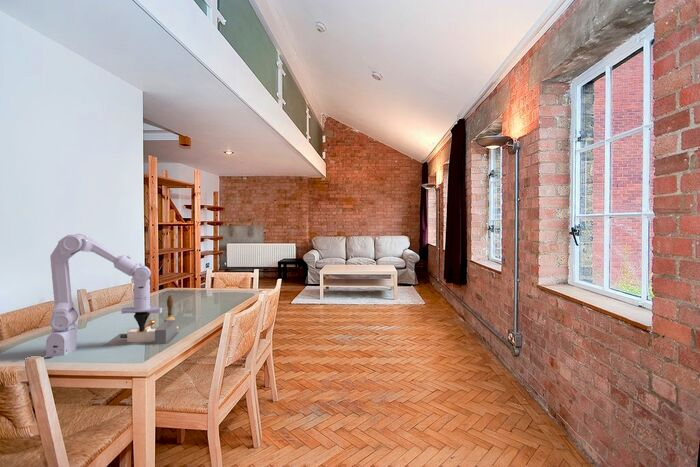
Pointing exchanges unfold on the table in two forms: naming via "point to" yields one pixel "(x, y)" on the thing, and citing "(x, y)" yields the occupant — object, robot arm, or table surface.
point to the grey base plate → (162, 335)
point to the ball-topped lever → (147, 325)
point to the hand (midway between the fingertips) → (141, 331)
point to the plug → (140, 335)
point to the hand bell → (170, 309)
